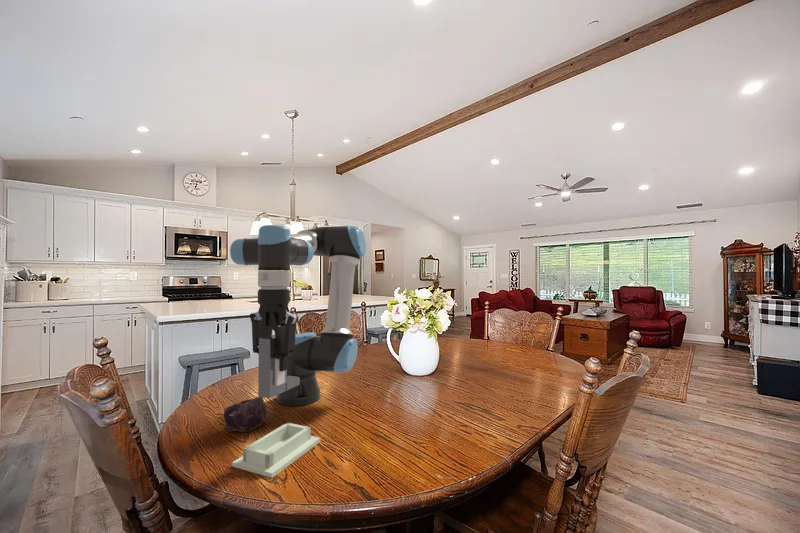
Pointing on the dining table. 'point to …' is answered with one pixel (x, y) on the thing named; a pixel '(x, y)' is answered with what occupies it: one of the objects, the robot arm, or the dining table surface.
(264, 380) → the grey l-shaped block
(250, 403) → the rock
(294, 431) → the rectangular frame
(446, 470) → the dining table surface
